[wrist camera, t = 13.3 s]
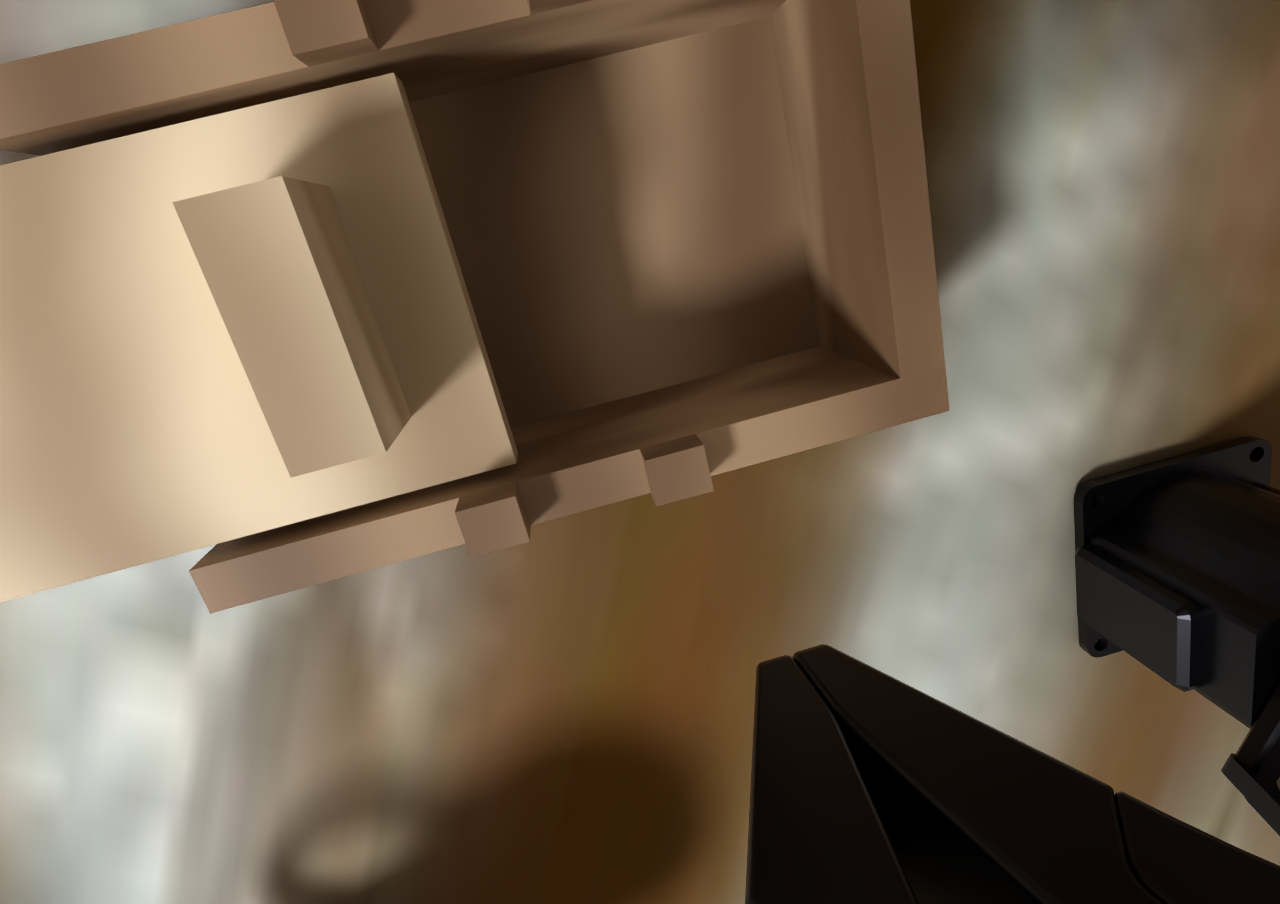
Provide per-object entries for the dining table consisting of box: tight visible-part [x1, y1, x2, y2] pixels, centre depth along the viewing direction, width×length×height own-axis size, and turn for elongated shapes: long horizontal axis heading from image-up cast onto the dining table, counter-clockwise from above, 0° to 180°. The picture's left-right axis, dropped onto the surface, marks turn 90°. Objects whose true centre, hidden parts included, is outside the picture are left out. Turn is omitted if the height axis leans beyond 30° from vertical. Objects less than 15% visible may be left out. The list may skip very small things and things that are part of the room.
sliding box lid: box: [0, 73, 518, 602], centre depth 12 cm, size 14×7×3 cm, turn 103°
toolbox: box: [0, 0, 949, 613], centre depth 15 cm, size 16×10×6 cm, turn 103°
